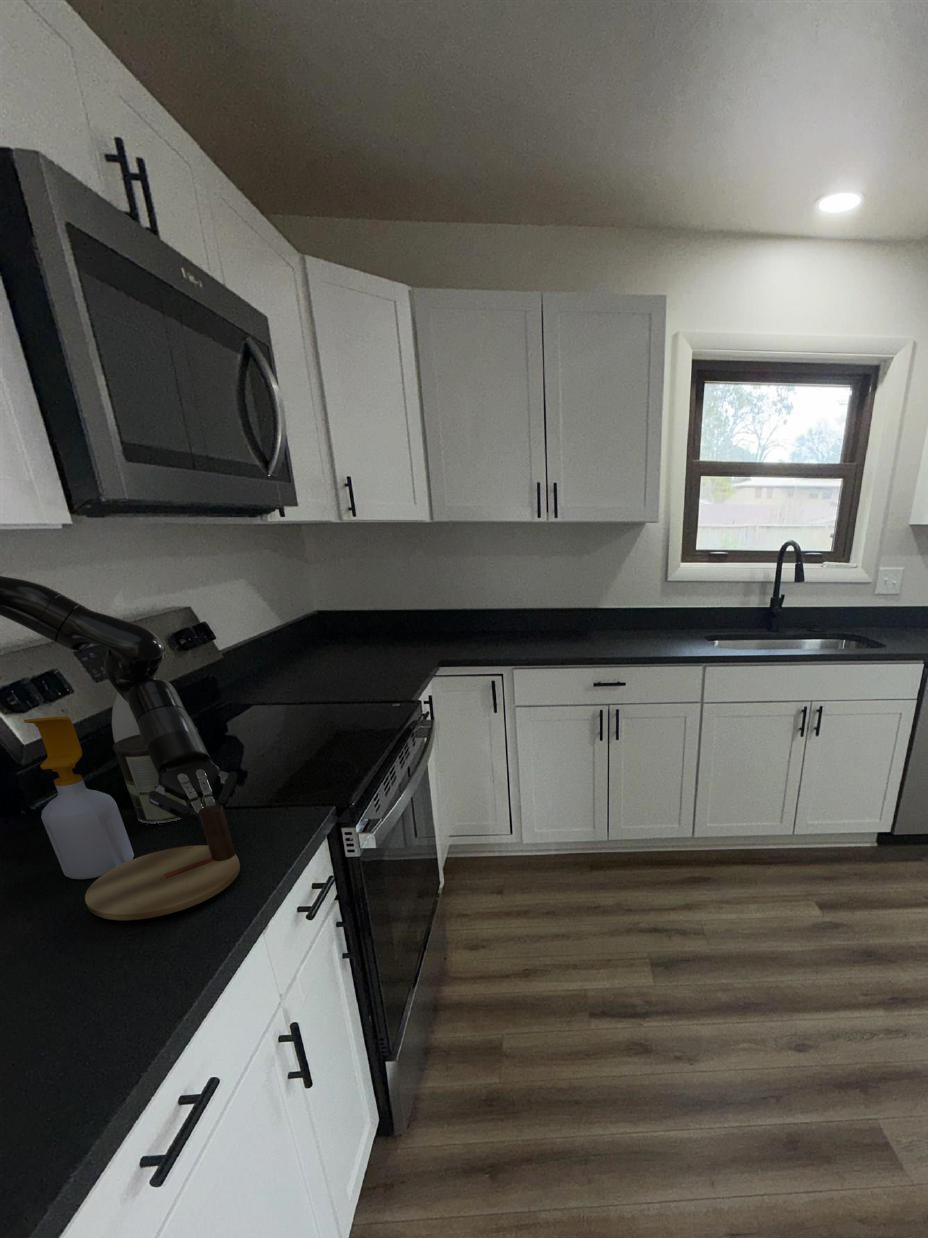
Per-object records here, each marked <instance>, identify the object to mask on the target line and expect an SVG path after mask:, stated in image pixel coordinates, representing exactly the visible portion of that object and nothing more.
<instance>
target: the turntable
mask: <svg viewBox="0 0 928 1238" xmlns="http://www.w3.org/2000/svg"><path fill="white" fill-rule="evenodd" d="M198 813H199V816H200V819H201V823H202V826H203V830H204V833H205V835H204V836H205V840H206V843H207V845H205V844H203V845H201V844H199V845H186V846H178V847H171V848H167V849H162V850H158V851H154V852H151V853H147V854H144V855H141V856H138V857H136V858H133V860H130V861H128V862H126V863H124V864H121V865H119V866H117V867H115V868H113V869H112V870H110V871H108V872H107V873H105V874H104V875H102V876H100V877H97V879H96V880H94V881H93V882H92V883H91V885H90V886H89V887H88V889H87V890H86V892H85V895H84V901H85V904H86V906H87V909H88V910H89V912H90V913H92V914H93V915H94V916H96V917H98V918H101V919H104V920H105V919H106V920H111V921H112V920H113V921H137V920H138V921H139V920H146V919H153V918H159V917H161V916H166V915H170V914H173V913H177V912H180V911H183V910H186V909H189V908H191V907H194V906H196V905H200V904H201V903H203V902H205V901H207V900H209V899H211V898H213V897H215V896H217V895H218V894H219V893H221V892H223V891H224V890H225V889H227V888H228V887H229V886H230V885H231V884H232V883H233V882H234V881H235V880H236V878H237V877H238V875H239V873H240V871H241V863H240V860H239V858H238V856H237V854H236V851H235V847H234V843H233V840H232V836H231V832H230V829H229V824H228V821H227V817H226V814H225V809H223V807H222V806H221V805H211V806H207V807H204V806H203V808H202V809H200V810H199V811H198ZM204 833H203V834H204Z"/></svg>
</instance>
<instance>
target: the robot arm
mask: <svg viewBox="0 0 928 1238" xmlns="http://www.w3.org/2000/svg"><path fill="white" fill-rule="evenodd" d="M0 616H1V617H3V618H6V619H8V620H10V621H12V622H15V623H17V624H18V625H21V626H23V627H24V628H26V629H29V630H31V631H33V632H35V633H37V634H38V635H40V636H42V637H44V638H46V639H48V640H50V641H52V642H54V643H57V644H58V645H60V646H62V647H65V648H67V649H69V650H72V651H75V652H77V651H83V650H85V649H87V648H88V647H89V646H90V645H91V644H92V645H96V646H100V647H103V648H106V649H108V650H107V652H106V654H105V655H106V656H105V658H104V662H103V663H104V664H103V665H104V666H103V667H104V671H105V675H106V677H107V679H108V681H109V682H110V684H111V686H112V687H113V688H114V690H115V691H117V694H118V693H119V694H120V695H121V696H122V698H123V699H124V700H125V701H126V702H127V703H128V704H129V707H130V709H131V712H132V714H133V716H134V718H135V720H136V723H137V725H138V727H139V731H140V735H141V738H142V740H143V742H144V745H145V747H146V749H147V751H148V754H149V756H150V758H151V760H152V762H153V765H154V767H155V769H156V771H157V773H158V776H159V779H158V785H159V786H158V787H157V788H156V789H155V791H151V792H150V793H149V802H150V804H152V805H154V806H156V807H158V808H160V809H163V810H165V811H167V812H169V813H171V814H173V815H175V816H177V817H179V818H181V819H183V820H184V821H186V820H188V819H195V820H196V821H197V822H198V825H199V827H200V829H201V831H202V833H203V835H204V836H205V833H204V830H203V826H202V823H201V819H200V816H199V813H198V811H199V810H200V809H202V808H204V807H207V806H211V805H221V806H222V807H223V810H225V809H226V807H227V805H228V803H229V800H230V798H231V795H232V793H233V791H234V788H235V786H236V783H237V779H238V778H237V777H238V773H237V772H236V771H234V770H232V771H230V772H227V771H223V770H220V767H219V766H218V765H216V764H215V763H214V762H213V761H212V758H211V756H210V754H209V752H208V750H207V748H206V746H205V744H204V742H203V739H202V737H201V735H200V732H199V730H198V727H196V724H195V723H194V721H193V719H192V718H191V716H190V715H189V714H188V712H187V709H186V707H185V705H184V703H183V701H182V699H181V697H180V695H179V693H178V690H177V689H176V688H175V687H174V686H173V685H172V683H170V682H168V681H166V680H163V679H159V678H158V676H157V672H158V671H159V669H160V666H161V664H162V662H163V660H164V658H165V654H166V648H165V645H164V643H163V641H162V640H161V639H160V638H159V637H158V636H157V634H155V632H153V631H151V630H150V629H148V628H146V627H145V626H142V625H139V624H137V623H134V622H130V621H128V620H125V619H121V618H117V617H114V616H112V615H108V614H105V613H101V612H99V611H98V612H97V611H94V610H91V609H90V608H88V607H86V606H84V605H83V604H82V603H81V604H80V603H79V602H77V601H75V600H73V599H71V598H69V597H67V596H66V595H65V594H62V593H60V592H58V591H56V590H54V589H53V588H50V587H48V586H46V585H44V584H41V583H37V582H35V581H30V580H28V579H22V578H16V577H11V576H3V575H0ZM218 779H219V780H220V785H221V786H222V788H221V791H220V793H219V796H218V799H216V800H215V799H214V795H213V793H214V790H215V788H216V785H217V782H218ZM165 791H166V792H168V793H170V794H171V795H173V796H175V797H177V798H179V799H181V800H185V802H186V804H187V806H188V807H187V806H185V805H183V804H181V803H179V802H177V801H175V800H173V799H171V798H169V796H168V794H167V793H166V792H165ZM198 797H199V798H198ZM199 799H200V801H199ZM183 820H182V821H183Z"/></svg>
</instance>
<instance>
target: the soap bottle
mask: <svg viewBox="0 0 928 1238" xmlns="http://www.w3.org/2000/svg"><path fill="white" fill-rule="evenodd" d="M23 722H24V724H25V723H26V724H34V725H35V726H36V727H37V730H38V732H39V735H40V738H41V740H42V742H43V745H44V748H45V750H46V755H47V757H46V759H45V760H44V761H43V762H42V763H41V764H40V765H39V767H40V769H41V770H49V769H50V770H51V771H52V772H55V773H57V774H58V777H57V778H55V779H53V783H54V786H55V788H56V789H55V790H56V792H57V795H56V797H54V798H53V799H51V800H49V802H48V803H47V804H46V805H45V806H44V808H43V809H42V810H41V816H40V818H41V820H42V823H43V826H44V828H45V831H46V833H47V836H48V838H49V841H50V843H51V845H52V849H53V850H54V853H55V856H56V858H57V860H58V863H59V866H60V867H61V871H62V872H63V875H64V876H65V877H67V878H69V879H72V880H88V879H96V878H99V877H101V876H102V875H104V874H105V873H107V872H108V871H110V870H112V869H113V868H115V867H117V866H119V865H121V864H124V863H126V862H128V861H130V860H133V859H134V857H135V853H134V851H133V847H132V845H131V842H130V841H131V840H130V838H129V836H128V833H127V830H126V826H125V825H124V821H123V818H122V815H121V812H120V810H119V807H118V804H117V802H116V800H115V799H114V798H113V797H112V796H111V795H110V794H108V793H105V792H103V791H99V790H97V789H89V788H87V787H86V784H85V781H84V778H83V777H82V774H78V773H74V771H73V769H75V768H76V764H77V763H78V762H79V761H80V760H81V758H82V757H83V749H82V747H81V743H80V740H79V738H78V737H79V736H78V735H77V732H76V729H75V726H74V724H73V721H72V719H71V718H70V717H69V716H47V717H38V718H28V719H27V718H26V719H23Z"/></svg>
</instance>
